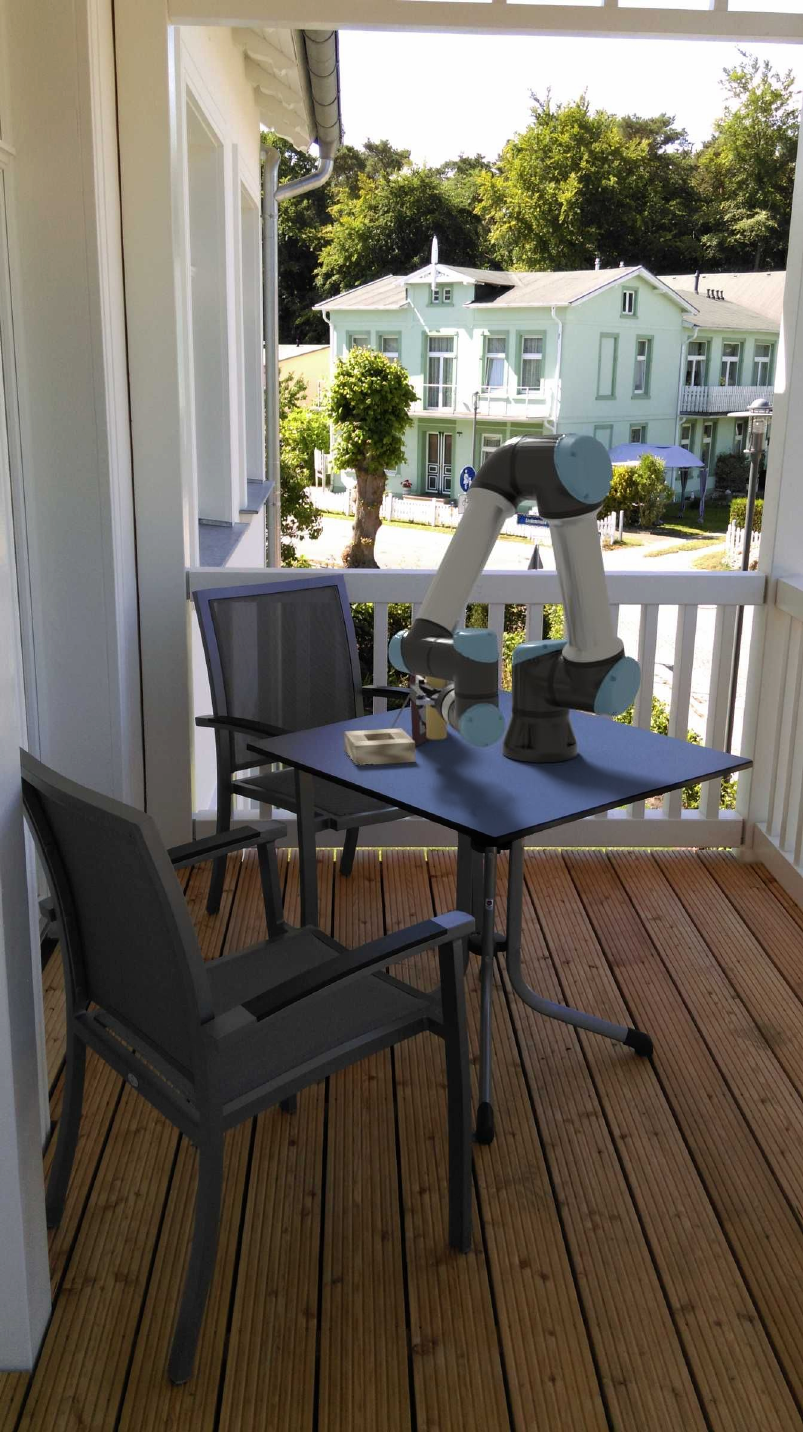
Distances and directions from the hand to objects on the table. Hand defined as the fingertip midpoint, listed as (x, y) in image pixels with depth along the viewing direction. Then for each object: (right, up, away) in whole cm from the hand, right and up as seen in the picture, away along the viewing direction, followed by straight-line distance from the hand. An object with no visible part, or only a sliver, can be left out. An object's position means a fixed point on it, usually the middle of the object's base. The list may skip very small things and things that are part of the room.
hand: (429, 681), depth 231 cm
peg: (+1, -11, -3) cm, 11 cm away
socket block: (-10, -15, +4) cm, 18 cm away
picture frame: (-4, -11, +21) cm, 24 cm away
